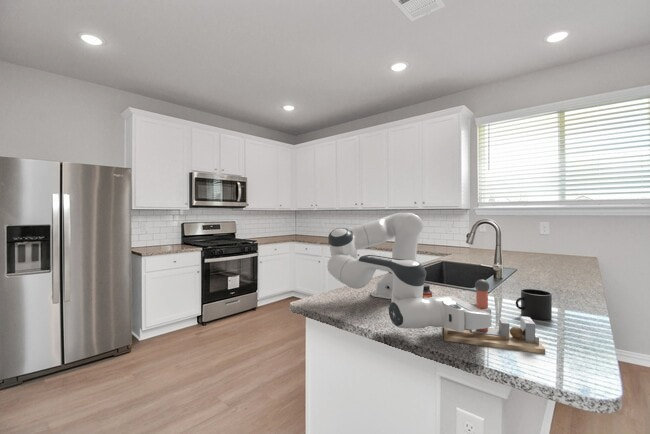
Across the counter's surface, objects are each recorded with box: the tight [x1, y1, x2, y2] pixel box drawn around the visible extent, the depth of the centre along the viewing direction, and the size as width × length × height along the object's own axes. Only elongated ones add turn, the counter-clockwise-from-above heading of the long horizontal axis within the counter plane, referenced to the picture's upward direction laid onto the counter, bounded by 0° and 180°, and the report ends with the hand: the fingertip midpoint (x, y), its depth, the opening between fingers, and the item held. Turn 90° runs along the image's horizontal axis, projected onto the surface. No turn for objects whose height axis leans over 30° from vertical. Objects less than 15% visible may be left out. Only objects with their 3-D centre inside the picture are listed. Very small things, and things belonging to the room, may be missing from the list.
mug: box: [515, 288, 553, 321], centre depth 114 cm, size 9×12×9 cm
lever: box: [471, 279, 510, 340], centre depth 94 cm, size 10×5×17 cm, turn 69°
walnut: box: [509, 325, 523, 339], centre depth 92 cm, size 3×3×3 cm
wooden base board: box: [443, 327, 546, 355], centre depth 94 cm, size 26×12×2 cm, turn 69°
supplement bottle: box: [423, 283, 433, 299], centre depth 117 cm, size 6×6×11 cm
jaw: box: [520, 315, 540, 345], centre depth 91 cm, size 3×6×6 cm, turn 159°
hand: (484, 308), depth 95 cm, fingers closed on lever, 3 cm apart
